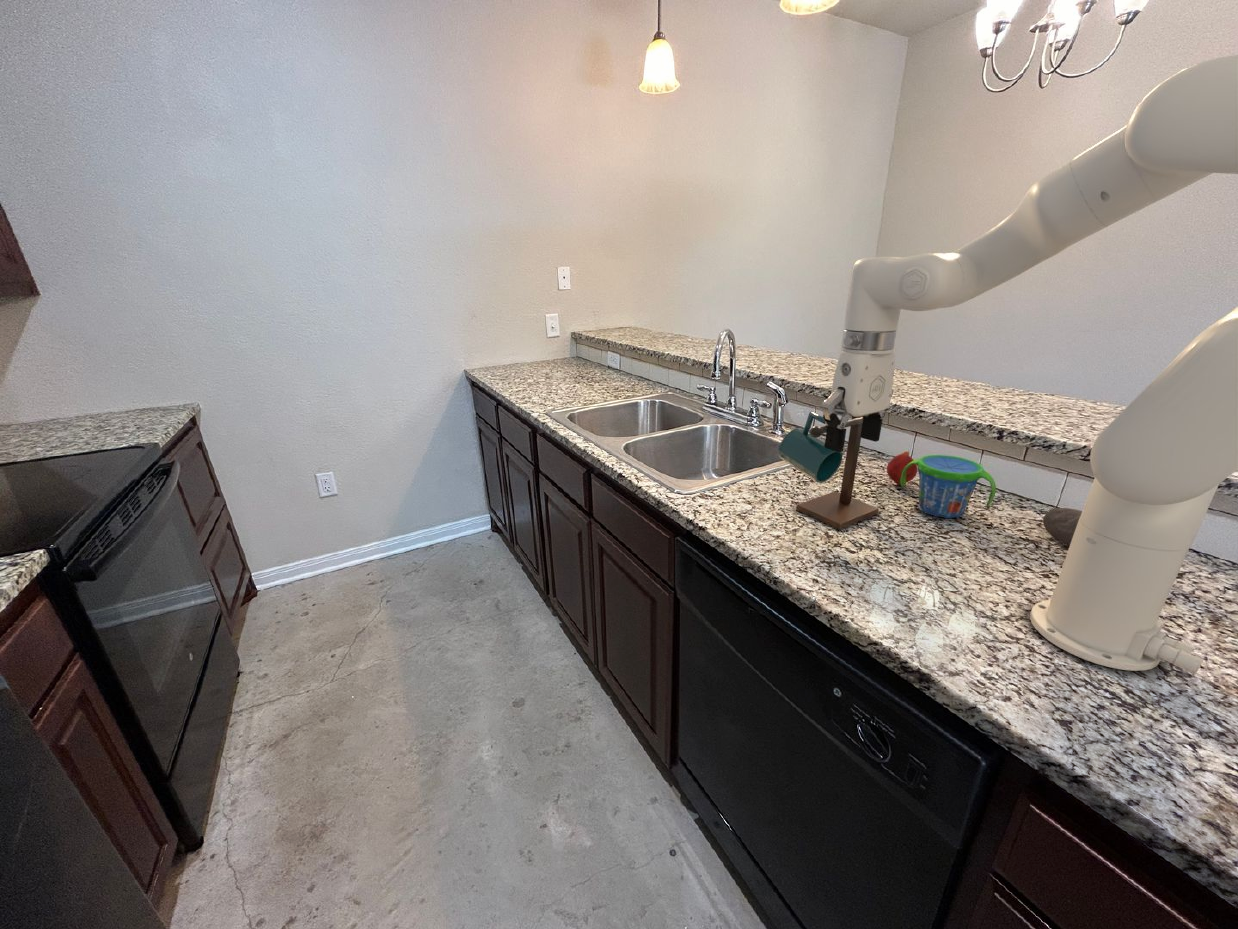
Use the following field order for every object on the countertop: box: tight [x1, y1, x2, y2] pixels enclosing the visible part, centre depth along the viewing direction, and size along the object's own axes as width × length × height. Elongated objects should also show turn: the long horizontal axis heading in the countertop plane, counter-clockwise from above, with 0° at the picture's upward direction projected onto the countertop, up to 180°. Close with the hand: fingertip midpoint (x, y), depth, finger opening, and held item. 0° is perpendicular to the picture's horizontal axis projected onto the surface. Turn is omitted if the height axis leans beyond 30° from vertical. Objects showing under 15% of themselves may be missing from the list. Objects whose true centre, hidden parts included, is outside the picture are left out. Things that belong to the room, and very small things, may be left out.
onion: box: [886, 450, 918, 486], centre depth 110 cm, size 6×6×8 cm
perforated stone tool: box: [1042, 507, 1083, 548], centre depth 83 cm, size 15×5×7 cm, turn 7°
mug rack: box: [796, 415, 880, 530], centre depth 95 cm, size 10×18×20 cm, turn 121°
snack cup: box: [900, 454, 997, 519], centre depth 97 cm, size 16×10×10 cm
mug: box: [777, 411, 843, 484], centre depth 91 cm, size 11×7×9 cm
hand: (851, 444), depth 85 cm, fingers open, 9 cm apart
